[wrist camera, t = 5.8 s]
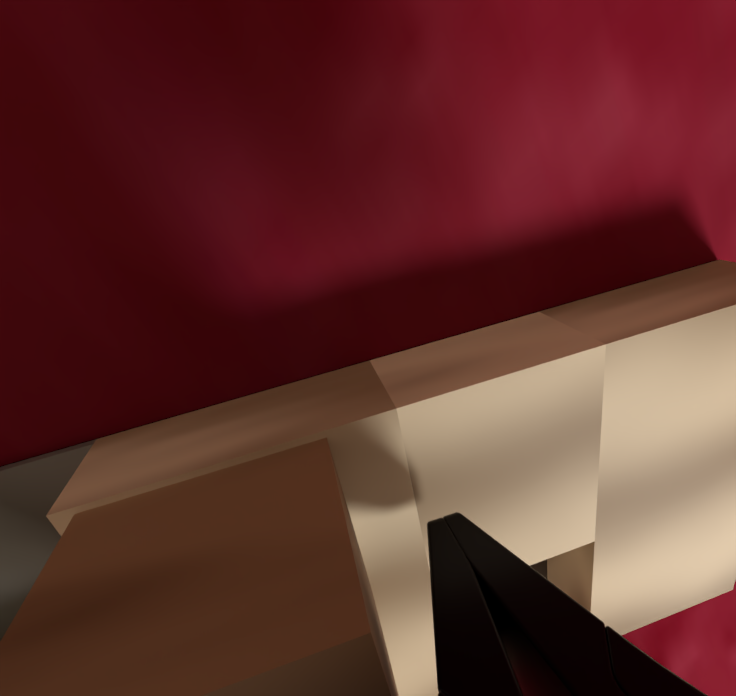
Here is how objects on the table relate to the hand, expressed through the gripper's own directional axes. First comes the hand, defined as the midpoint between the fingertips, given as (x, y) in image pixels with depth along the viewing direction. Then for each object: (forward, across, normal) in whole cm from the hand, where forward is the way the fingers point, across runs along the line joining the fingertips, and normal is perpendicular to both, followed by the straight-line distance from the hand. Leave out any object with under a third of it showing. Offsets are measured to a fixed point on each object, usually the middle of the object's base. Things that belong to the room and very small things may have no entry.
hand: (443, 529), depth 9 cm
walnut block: (+1, +4, 0) cm, 4 cm away
